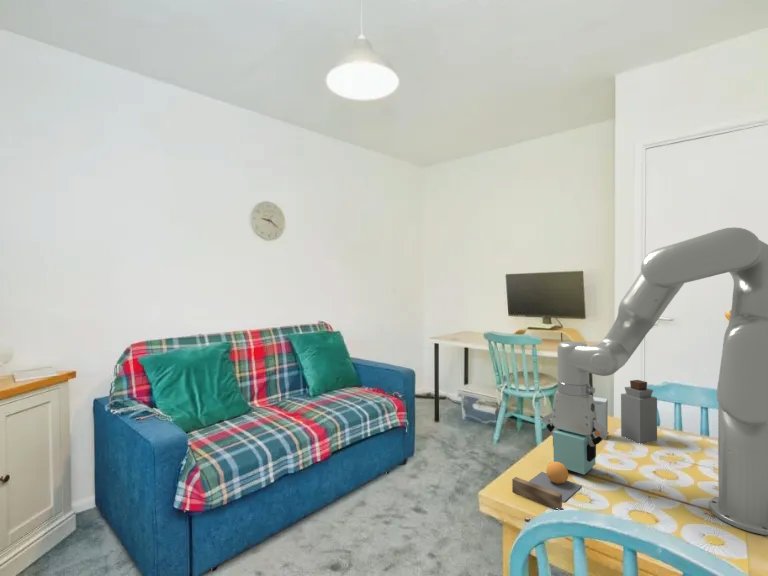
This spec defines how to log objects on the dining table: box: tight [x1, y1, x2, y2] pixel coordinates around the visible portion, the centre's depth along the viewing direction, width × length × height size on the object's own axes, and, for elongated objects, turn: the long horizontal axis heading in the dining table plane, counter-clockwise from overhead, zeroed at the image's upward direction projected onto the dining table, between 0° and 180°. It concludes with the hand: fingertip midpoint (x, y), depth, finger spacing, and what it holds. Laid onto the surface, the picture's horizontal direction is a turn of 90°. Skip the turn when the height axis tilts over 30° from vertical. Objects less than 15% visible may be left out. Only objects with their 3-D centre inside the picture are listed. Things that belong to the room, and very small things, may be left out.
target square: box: [527, 471, 582, 503], centre depth 97 cm, size 10×10×1 cm
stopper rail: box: [511, 476, 563, 510], centre depth 91 cm, size 11×2×3 cm, turn 43°
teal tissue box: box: [552, 430, 596, 475], centre depth 106 cm, size 8×8×9 cm
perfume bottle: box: [620, 379, 658, 445], centre depth 125 cm, size 7×7×18 cm
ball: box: [545, 461, 569, 484], centre depth 99 cm, size 5×5×5 cm
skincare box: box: [593, 396, 609, 441], centre depth 128 cm, size 6×4×12 cm
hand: (573, 454), depth 106 cm, fingers closed on teal tissue box, 7 cm apart
